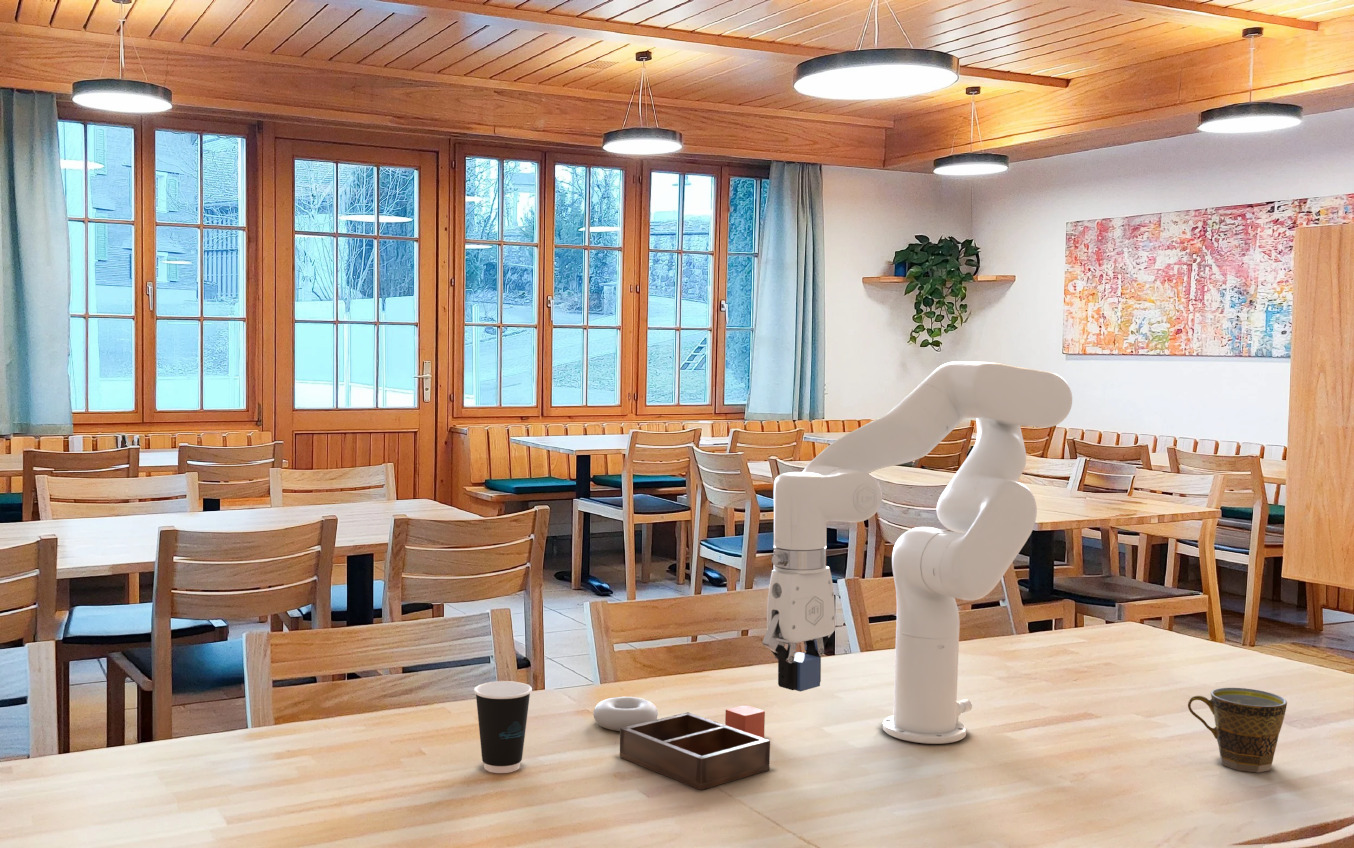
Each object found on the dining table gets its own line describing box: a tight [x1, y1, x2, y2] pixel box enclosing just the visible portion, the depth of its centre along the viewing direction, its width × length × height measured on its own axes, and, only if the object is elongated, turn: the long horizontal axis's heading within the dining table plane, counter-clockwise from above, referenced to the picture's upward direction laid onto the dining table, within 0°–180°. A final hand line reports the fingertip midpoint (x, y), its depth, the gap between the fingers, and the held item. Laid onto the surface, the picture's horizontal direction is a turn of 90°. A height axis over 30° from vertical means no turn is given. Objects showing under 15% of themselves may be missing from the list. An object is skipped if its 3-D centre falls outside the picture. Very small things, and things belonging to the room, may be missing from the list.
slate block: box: [793, 651, 821, 692], centre depth 179 cm, size 4×4×4 cm
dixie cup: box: [473, 680, 533, 774], centre depth 171 cm, size 8×8×11 cm
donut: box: [592, 696, 659, 732], centre depth 192 cm, size 10×4×10 cm
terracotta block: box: [724, 704, 766, 739], centre depth 187 cm, size 4×4×4 cm
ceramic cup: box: [1187, 687, 1288, 773], centre depth 180 cm, size 13×10×10 cm
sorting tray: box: [619, 711, 771, 791], centre depth 174 cm, size 13×17×4 cm
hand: (799, 683), depth 179 cm, fingers closed on slate block, 4 cm apart
